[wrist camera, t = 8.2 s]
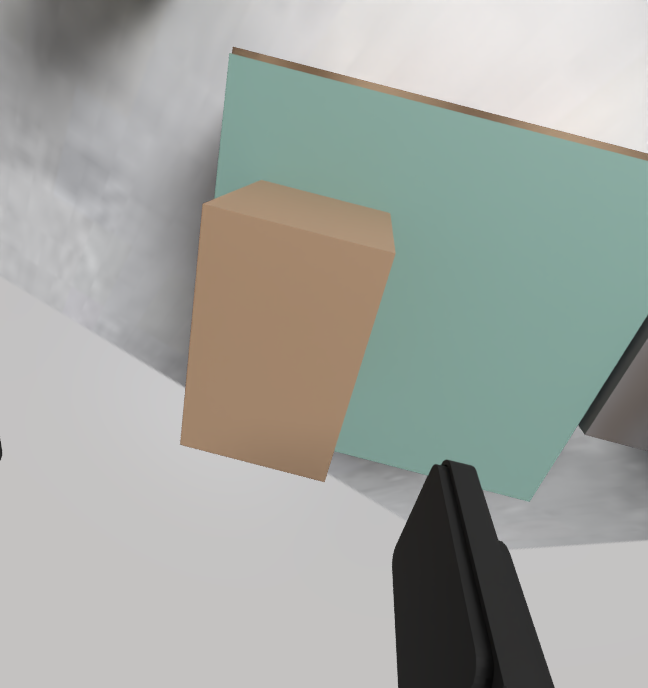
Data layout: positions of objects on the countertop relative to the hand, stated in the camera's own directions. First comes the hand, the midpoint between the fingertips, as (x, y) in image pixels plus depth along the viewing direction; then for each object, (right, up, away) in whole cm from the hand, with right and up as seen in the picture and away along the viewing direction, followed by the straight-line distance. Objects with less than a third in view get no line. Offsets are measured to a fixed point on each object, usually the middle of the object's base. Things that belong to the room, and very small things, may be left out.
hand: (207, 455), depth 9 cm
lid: (+6, +4, +10) cm, 12 cm away
